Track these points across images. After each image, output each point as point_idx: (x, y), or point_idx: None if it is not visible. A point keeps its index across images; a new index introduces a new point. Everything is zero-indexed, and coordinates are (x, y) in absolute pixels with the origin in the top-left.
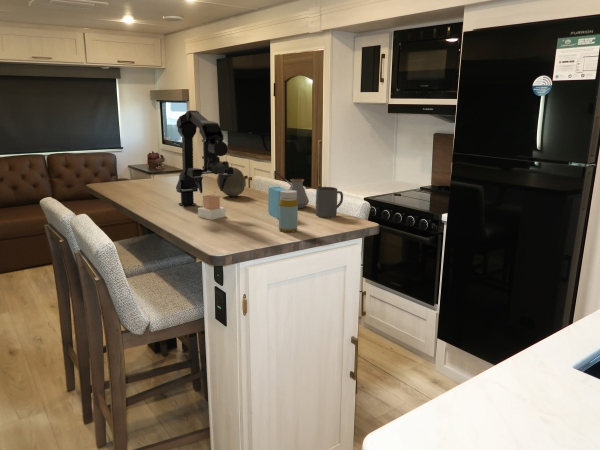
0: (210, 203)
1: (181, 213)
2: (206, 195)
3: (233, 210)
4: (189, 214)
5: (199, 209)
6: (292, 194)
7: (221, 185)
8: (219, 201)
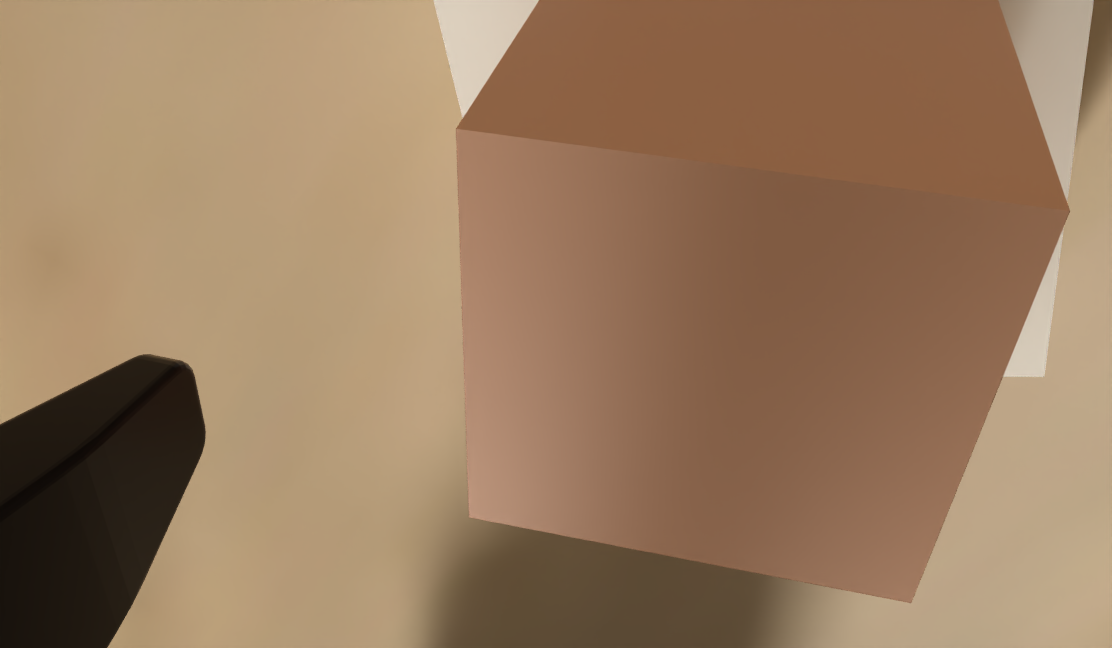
0: (958, 68)
1: (1018, 606)
2: (780, 557)
3: (79, 201)
4: (979, 479)
5: (1044, 302)
6: None
7: (3, 592)
8: (530, 35)
